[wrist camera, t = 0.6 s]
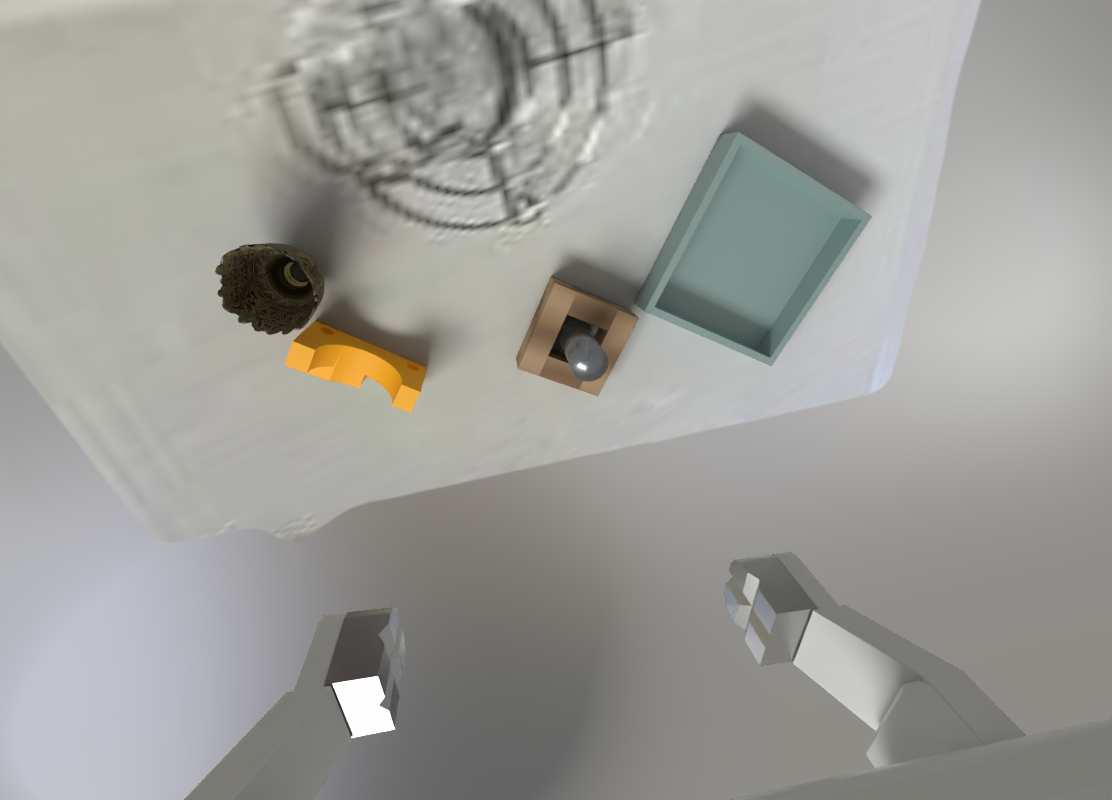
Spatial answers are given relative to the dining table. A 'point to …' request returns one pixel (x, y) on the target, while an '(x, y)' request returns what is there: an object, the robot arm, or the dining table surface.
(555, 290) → the pin holder
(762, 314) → the tray
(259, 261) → the cup
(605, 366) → the pin
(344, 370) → the pipe clamp
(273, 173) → the dining table surface
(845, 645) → the robot arm
